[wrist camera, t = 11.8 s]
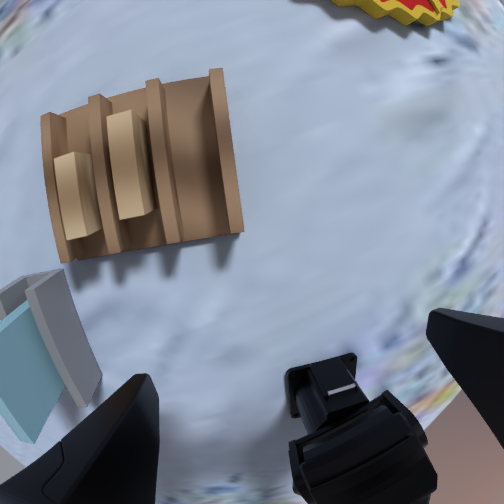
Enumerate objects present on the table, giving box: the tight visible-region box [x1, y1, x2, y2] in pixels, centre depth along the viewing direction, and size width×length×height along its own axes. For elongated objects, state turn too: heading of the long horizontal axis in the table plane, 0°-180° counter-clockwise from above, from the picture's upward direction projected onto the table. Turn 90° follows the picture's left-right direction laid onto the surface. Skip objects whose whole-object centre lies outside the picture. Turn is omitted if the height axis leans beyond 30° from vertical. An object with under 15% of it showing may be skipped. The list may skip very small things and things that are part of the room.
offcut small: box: [54, 152, 103, 240], centre depth 15 cm, size 5×2×4 cm, turn 8°
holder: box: [0, 269, 102, 407], centre depth 17 cm, size 10×5×4 cm, turn 8°
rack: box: [41, 68, 245, 263], centre depth 16 cm, size 11×12×3 cm
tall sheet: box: [0, 300, 66, 444], centre depth 14 cm, size 7×2×10 cm, turn 7°
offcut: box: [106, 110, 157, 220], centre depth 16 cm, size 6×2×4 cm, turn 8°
